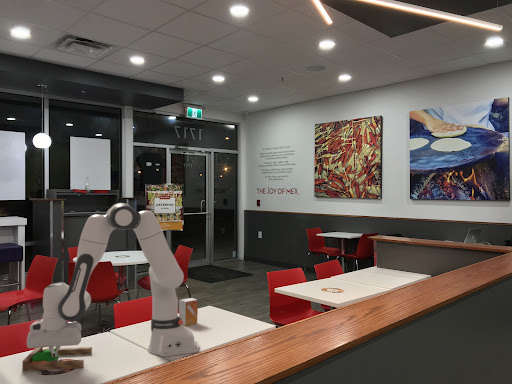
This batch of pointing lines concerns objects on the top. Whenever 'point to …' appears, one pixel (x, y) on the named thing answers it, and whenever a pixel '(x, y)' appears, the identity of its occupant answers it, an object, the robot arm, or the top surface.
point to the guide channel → (52, 365)
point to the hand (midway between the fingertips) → (54, 356)
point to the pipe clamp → (44, 356)
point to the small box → (188, 311)
